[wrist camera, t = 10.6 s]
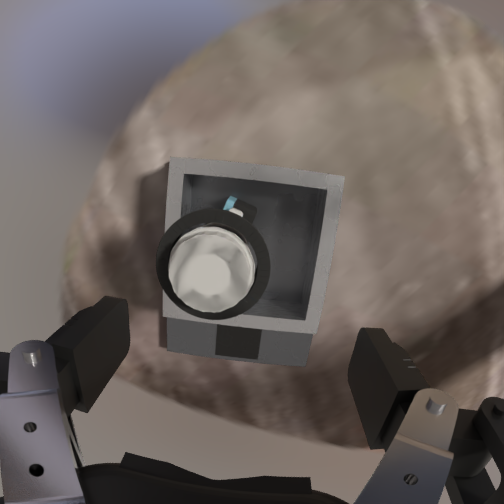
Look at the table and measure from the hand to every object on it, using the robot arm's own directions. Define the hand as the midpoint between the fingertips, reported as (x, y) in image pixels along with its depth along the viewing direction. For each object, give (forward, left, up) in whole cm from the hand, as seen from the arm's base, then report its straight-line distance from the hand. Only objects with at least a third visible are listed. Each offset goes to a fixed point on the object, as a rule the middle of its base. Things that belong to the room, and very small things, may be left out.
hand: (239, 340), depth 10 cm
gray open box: (0, +2, -15) cm, 15 cm away
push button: (+2, 0, -14) cm, 14 cm away
